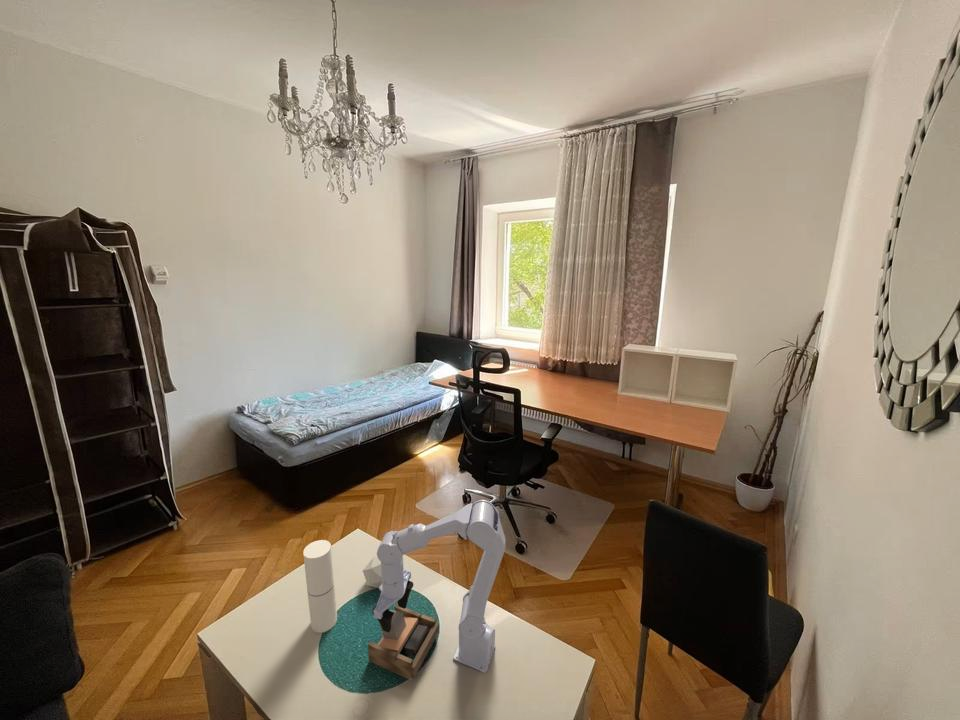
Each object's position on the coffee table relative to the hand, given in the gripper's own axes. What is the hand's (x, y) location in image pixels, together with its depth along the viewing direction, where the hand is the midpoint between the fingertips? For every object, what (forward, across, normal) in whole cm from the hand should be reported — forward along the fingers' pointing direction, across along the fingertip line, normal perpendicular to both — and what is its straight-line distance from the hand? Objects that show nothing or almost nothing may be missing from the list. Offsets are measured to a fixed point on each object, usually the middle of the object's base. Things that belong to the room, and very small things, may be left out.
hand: (394, 618), depth 102 cm
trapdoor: (+6, 0, +3) cm, 7 cm away
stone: (+5, 0, 0) cm, 5 cm away
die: (+9, -16, -18) cm, 25 cm away
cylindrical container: (+9, +2, -24) cm, 25 cm away
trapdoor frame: (+9, 0, +3) cm, 9 cm away
